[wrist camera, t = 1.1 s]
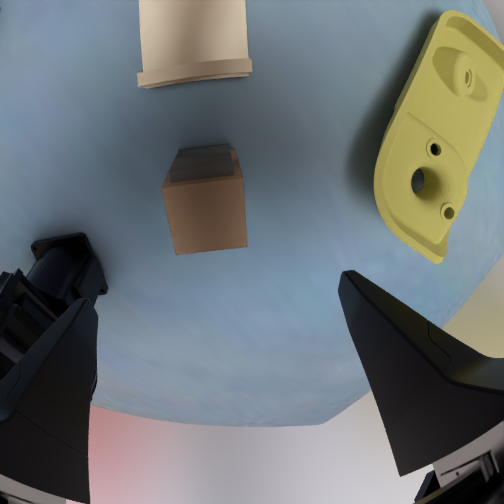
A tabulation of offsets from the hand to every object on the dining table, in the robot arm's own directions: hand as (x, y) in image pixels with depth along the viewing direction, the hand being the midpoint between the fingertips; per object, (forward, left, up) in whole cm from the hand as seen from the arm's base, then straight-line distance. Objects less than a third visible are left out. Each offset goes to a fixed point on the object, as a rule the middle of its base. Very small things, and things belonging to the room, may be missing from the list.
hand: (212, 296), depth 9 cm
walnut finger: (0, 0, -12) cm, 12 cm away
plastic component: (+18, +5, -12) cm, 23 cm away
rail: (0, +15, -12) cm, 19 cm away
